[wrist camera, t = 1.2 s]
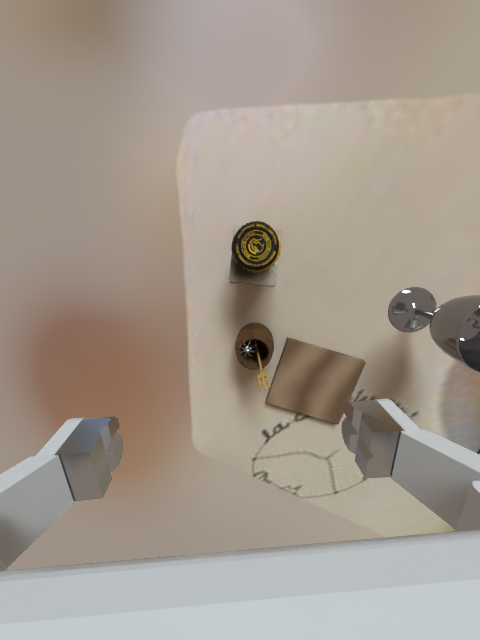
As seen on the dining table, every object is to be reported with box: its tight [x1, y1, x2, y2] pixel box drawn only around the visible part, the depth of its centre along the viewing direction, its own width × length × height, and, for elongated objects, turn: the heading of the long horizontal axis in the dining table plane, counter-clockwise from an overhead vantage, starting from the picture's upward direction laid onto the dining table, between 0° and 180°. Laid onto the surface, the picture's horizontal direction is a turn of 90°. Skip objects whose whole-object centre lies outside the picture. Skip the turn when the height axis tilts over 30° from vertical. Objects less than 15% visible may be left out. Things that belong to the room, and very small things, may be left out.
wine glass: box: [388, 287, 480, 372], centre depth 32 cm, size 8×8×15 cm
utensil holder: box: [236, 323, 274, 392], centre depth 37 cm, size 6×6×12 cm
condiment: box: [230, 221, 282, 286], centre depth 34 cm, size 7×8×12 cm
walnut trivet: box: [266, 338, 366, 424], centre depth 43 cm, size 13×12×1 cm
